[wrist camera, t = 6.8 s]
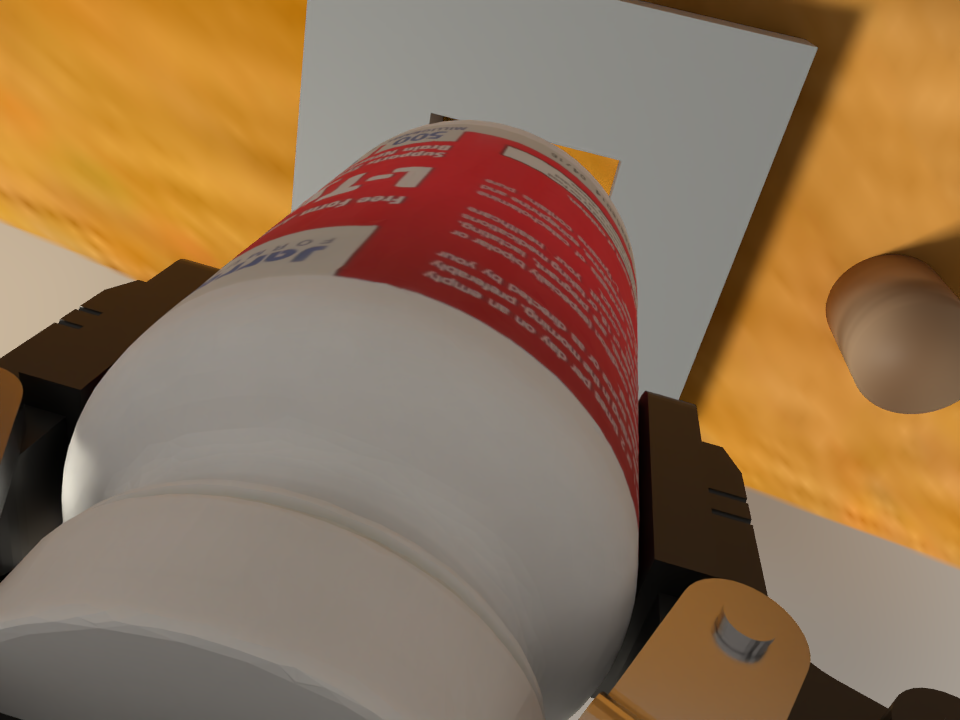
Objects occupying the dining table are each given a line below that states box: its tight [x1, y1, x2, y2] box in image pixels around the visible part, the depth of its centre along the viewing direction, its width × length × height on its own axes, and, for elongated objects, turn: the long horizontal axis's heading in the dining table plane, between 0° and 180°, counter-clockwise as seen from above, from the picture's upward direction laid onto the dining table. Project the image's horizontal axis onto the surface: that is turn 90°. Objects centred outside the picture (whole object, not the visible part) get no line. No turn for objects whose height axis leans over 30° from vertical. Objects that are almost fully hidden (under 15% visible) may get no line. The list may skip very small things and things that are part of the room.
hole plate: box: [291, 0, 818, 401], centre depth 32 cm, size 18×18×2 cm
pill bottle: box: [0, 120, 639, 720], centre depth 10 cm, size 6×6×11 cm
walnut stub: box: [826, 254, 960, 414], centre depth 30 cm, size 4×4×5 cm
